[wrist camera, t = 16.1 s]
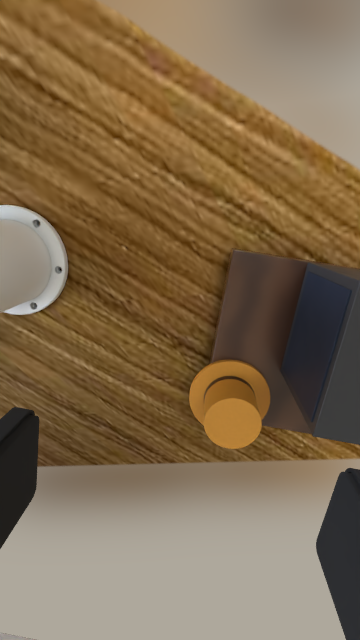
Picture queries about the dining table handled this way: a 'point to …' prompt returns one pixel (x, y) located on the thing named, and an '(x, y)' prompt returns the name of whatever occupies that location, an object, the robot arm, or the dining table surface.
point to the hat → (230, 402)
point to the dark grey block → (326, 352)
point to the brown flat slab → (262, 324)
